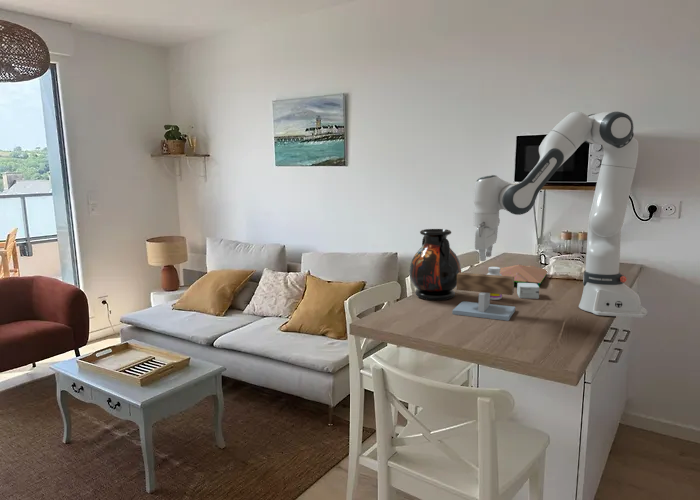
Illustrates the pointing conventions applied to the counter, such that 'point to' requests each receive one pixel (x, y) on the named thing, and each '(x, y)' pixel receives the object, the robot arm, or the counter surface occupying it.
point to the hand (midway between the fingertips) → (485, 258)
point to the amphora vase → (435, 266)
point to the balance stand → (484, 309)
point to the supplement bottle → (497, 272)
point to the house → (524, 273)
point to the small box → (528, 290)
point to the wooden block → (485, 283)
